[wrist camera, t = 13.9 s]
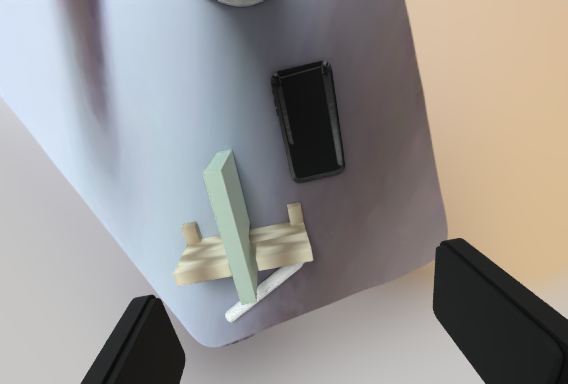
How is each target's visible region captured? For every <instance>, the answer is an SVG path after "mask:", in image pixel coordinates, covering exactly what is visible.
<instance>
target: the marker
mask: <svg viewBox="0 0 568 384" xmlns="http://www.w3.org/2000/svg"><path fill="white" fill-rule="evenodd" d="M303 264H304V263H298V264H293V265H288V266H283V267H281V268H279V269H278V270H277V271H276V272H274V273H273V274H272V275H271V276H269V277H268V278H267V279H266V280H265V281H263V282H262V283H261V284H260V285H258V286H257V302H259V301H260V300H261V299H262V298H264V297H265V296H266V295H267V294H269V293H270V292H271V291H272V290H274V289H275V288H276V287H277V286H279V285H280V284H281V283H282V282H284V281H285V280H286V279H287V278H289V277H290V276H291V275H292V274H294V273H295V272H296V271H297V270H299V269H300V268H301V267H302V265H303ZM255 304H256V303H251V304H246V305H241V302H240V301H239V302H238V303H236V304H235V305H234V306H233V307H232V308H230V309H229V310H228V311H227V312H226V313H225V314H226V315H225V316H226V319H227V320H228V321H229V322H233V321H235V320H236V319H237V318H239V317H240V316H241V315H242V314H244V313H245V312H246V311H247V310H249V309H250V308H251V307H252V306H254V305H255Z"/></svg>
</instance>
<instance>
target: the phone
mask: <svg viewBox="0 0 568 384" xmlns="http://www.w3.org/2000/svg"><path fill="white" fill-rule="evenodd" d="M271 84H272V89H273V90H272V91H273V95H274V98H275V99H274V101H275V106H276V107H277V109H276V111H277V115H278V116H279V121H280V125H281V130H282V134H283V139H284V143H285V148H286V152H287V157H288V161H289V166H290V170H291V175H292V178H293V179H294V181H296V182H304V181H308V180H313V179H317V178H321V177H326V176H330V175H334V174H339V173H341V172H342V171H343V170H344V168H345V161H344V153H343V146H342V139H341V132H340V125H339V117H338V110H337V103H336V96H335V88H334V81H333V74H332V68H331V65H330V64H329V63H328V62H326V61H319V62H315V63H311V64H307V65H302V66H298V67H294V68H290V69H286V70H281V71H278V72H276V73H274V74H273V76H272V79H271Z"/></svg>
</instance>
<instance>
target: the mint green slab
mask: <svg viewBox="0 0 568 384" xmlns="http://www.w3.org/2000/svg"><path fill="white" fill-rule="evenodd" d="M202 175H203V179H204V182H205V185H206V189H207V192H208V195H209V199H210V202H211V205H212V209H213V212H214V215H215V219H216V222H217V226H218V229H219V232H220V236H221V239H222V242H223V246H224V249H225V252H226V256H227V259H228V262H229V266H230V269H231V272H232V276H233V279H234V282H235V286H236V289H237V292H238V296H239V299H240V302H241V305H246V304H251V303H257V279H258V264H257V261H256V254H254V255H253V252H252V248H251V244H250V240H249V227H250V221H249V217H248V213H247V209H246V205H245V201H244V197H243V193H242V189H241V185H240V181H239V177H238V173H237V169H236V165H235V161H234V157H233V153H232V150H226V151H221V152H217V154H216V155H215V156H214V158H213V159H212V160H211V162H210V163H209V165H208V166H207V167H206V169H205V170H204V172H203V173H202Z"/></svg>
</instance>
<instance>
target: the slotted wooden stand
mask: <svg viewBox="0 0 568 384" xmlns="http://www.w3.org/2000/svg"><path fill="white" fill-rule="evenodd" d="M287 208H288V213H289V218H290V222H286V223H281V224H276V225H271V226H265V227H260V228H255V229H249V240H250V244H251V248H252V252H253V255H254V254H256V261H257V264H258V268H259V271H261V270H267V269H272V268H277V267H283V266H288V265H293V264H298V263H304V262H309V261H313V256H312V250H311V246H310V242H309V239H308V236H307V232H306V229H305V225H304V221H303V215H302V209H301V204H300V202H298V203H292V204H287ZM181 229H182V232H183V235H184V238H185V240H186V243H187V247H186V249H185V251H184V253H183V255H182V257H181V259H180V261H179V263H178V265H177V267H176V269H175V271H174V273H173V275H174V277H175V280H176V282H177V285H178V286H182V285H187V284H193V283H198V282H203V281H209V280H214V279H219V278H224V277H230V276H232V272H231V269H230V266H229V262H228V259H227V256H226V252H225V249H224V246H223V242H222V239H221V236H220V235H218V236H212V237H207V238H202V237H201V234H200V231H199V228H198V225H197V222H192V223H187V224H183V226H182V227H181Z"/></svg>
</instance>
